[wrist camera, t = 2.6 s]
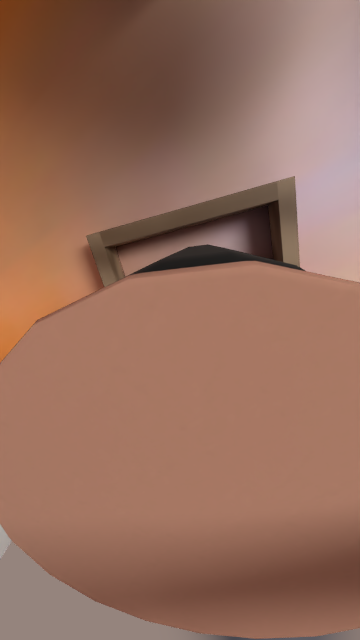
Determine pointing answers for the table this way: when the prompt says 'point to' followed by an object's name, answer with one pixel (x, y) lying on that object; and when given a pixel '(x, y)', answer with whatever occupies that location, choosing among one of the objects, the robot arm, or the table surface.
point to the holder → (273, 194)
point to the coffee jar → (194, 446)
